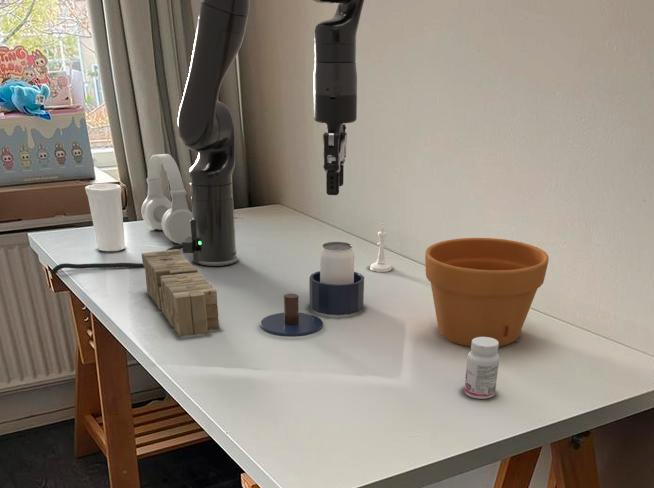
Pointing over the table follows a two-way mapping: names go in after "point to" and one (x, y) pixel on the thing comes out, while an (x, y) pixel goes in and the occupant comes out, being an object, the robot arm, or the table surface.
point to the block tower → (181, 292)
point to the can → (337, 263)
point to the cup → (107, 215)
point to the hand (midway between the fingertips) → (335, 190)
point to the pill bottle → (482, 368)
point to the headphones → (166, 200)
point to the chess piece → (381, 254)
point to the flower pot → (483, 286)
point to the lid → (291, 320)
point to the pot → (336, 296)
